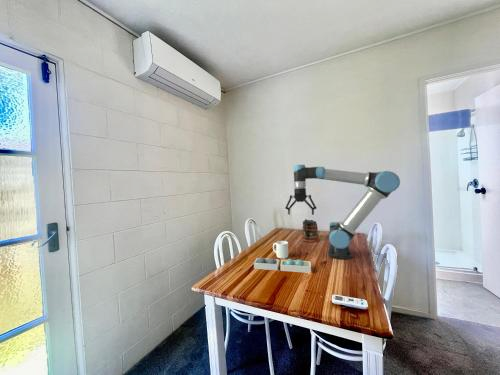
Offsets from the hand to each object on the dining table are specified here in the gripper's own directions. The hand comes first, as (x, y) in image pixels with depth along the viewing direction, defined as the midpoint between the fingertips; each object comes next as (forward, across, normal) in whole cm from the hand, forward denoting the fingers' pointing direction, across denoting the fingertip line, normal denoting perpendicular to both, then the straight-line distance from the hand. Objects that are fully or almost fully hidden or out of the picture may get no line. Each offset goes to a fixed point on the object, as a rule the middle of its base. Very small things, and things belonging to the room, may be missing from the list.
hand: (300, 219), depth 137 cm
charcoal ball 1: (+26, +24, +18) cm, 40 cm away
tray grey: (+27, +21, +18) cm, 38 cm away
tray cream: (+27, +4, +18) cm, 32 cm away
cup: (+27, +15, -2) cm, 31 cm away
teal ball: (+26, +7, +18) cm, 32 cm away
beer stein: (+27, -6, -43) cm, 51 cm away
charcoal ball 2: (+26, +18, +18) cm, 36 cm away
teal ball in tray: (+25, -1, +18) cm, 31 cm away
